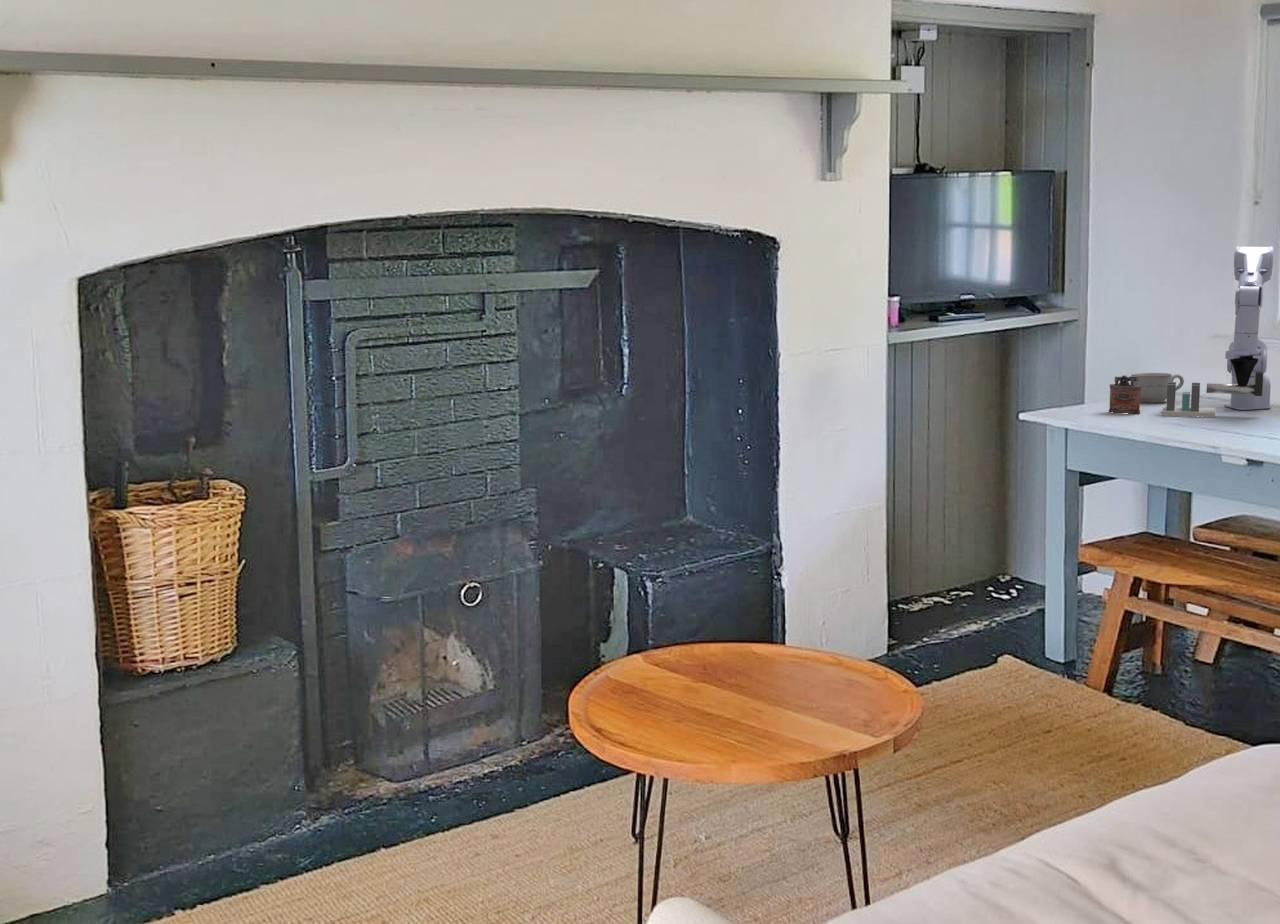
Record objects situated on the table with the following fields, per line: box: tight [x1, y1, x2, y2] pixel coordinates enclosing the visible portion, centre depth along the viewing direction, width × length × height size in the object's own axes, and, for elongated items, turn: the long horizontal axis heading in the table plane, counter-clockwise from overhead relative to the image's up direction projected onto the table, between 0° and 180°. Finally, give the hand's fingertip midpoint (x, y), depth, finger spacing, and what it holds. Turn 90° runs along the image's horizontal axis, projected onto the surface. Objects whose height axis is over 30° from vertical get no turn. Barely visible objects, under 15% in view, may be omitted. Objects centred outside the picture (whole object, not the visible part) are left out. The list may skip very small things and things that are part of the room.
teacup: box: [1131, 372, 1185, 403], centre depth 432 cm, size 14×11×8 cm
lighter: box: [1108, 374, 1141, 415], centre depth 413 cm, size 8×3×10 cm, turn 62°
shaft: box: [1205, 372, 1264, 396], centre depth 405 cm, size 14×2×6 cm, turn 70°
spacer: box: [1181, 391, 1191, 411], centre depth 410 cm, size 2×4×4 cm, turn 160°
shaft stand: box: [1161, 381, 1216, 418], centre depth 410 cm, size 13×9×8 cm
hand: (1242, 385), depth 404 cm, fingers closed, pressing on shaft
